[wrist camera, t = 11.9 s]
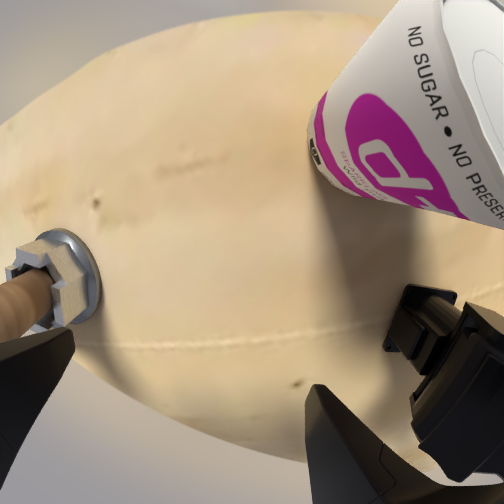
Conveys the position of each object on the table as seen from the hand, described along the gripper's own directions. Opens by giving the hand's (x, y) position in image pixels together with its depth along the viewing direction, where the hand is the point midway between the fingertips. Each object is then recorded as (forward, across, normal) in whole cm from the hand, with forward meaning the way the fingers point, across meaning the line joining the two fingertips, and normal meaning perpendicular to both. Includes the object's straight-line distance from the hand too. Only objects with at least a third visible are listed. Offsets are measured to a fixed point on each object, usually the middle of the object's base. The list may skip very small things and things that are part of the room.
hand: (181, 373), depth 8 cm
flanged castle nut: (+12, +15, +4) cm, 20 cm away
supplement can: (+12, -8, -11) cm, 18 cm away
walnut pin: (+10, +15, +4) cm, 19 cm away
